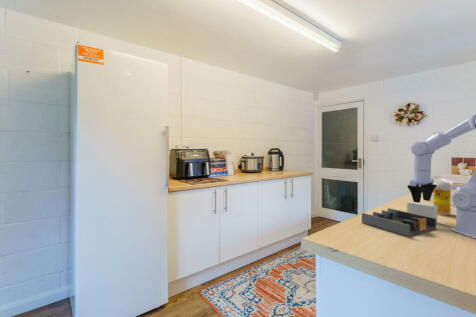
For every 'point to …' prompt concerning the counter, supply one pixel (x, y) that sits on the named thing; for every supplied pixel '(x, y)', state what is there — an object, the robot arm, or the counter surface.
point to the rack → (400, 222)
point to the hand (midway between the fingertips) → (421, 201)
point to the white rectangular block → (422, 209)
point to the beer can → (442, 197)
